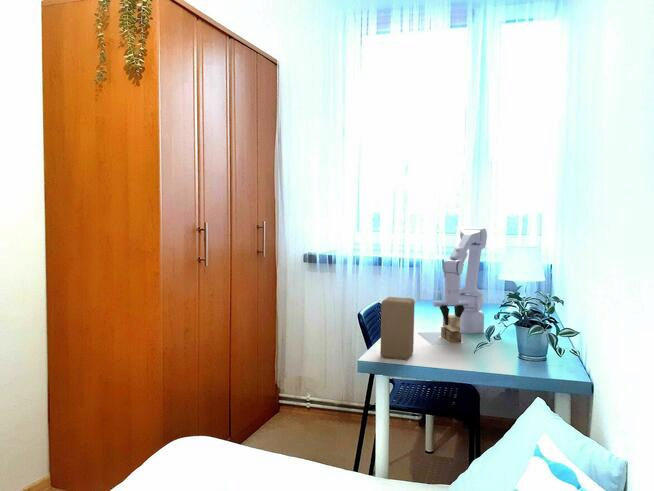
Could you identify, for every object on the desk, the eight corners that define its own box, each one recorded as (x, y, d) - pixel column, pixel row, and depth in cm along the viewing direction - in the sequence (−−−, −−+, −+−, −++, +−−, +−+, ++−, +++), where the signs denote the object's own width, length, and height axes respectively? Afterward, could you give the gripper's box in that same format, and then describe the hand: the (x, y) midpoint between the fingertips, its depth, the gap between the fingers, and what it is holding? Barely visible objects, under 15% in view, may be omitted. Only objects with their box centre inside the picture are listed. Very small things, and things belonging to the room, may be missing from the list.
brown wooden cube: (451, 336, 228) (452, 326, 228) (455, 339, 224) (456, 329, 224) (441, 336, 228) (441, 326, 228) (444, 339, 223) (445, 329, 223)
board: (454, 332, 237) (454, 332, 237) (472, 344, 217) (472, 343, 217) (416, 333, 235) (416, 332, 235) (431, 345, 215) (431, 344, 215)
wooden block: (413, 353, 202) (415, 298, 201) (408, 360, 193) (409, 302, 191) (386, 351, 205) (387, 296, 204) (379, 358, 196) (380, 300, 194)
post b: (457, 339, 223) (457, 329, 222) (461, 342, 218) (461, 332, 218) (446, 340, 222) (446, 330, 222) (449, 342, 218) (450, 332, 217)
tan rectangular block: (451, 325, 228) (451, 313, 227) (460, 331, 218) (460, 318, 218) (442, 325, 227) (443, 313, 227) (451, 331, 217) (451, 318, 217)
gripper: (437, 291, 217) (436, 326, 218) (474, 291, 219) (472, 326, 220) (431, 289, 224) (431, 323, 225) (467, 288, 226) (466, 322, 227)
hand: (451, 324), depth 223 cm, fingers closed on tan rectangular block, 3 cm apart
